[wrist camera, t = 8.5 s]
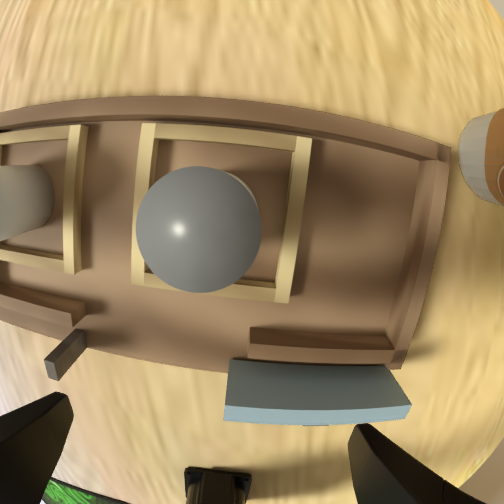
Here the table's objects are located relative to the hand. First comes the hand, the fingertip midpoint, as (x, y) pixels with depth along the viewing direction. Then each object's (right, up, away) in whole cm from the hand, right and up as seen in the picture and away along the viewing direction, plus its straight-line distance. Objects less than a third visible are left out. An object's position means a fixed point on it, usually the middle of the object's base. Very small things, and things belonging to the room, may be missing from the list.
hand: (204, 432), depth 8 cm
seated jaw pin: (-1, +7, +9) cm, 12 cm away
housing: (-4, +6, +11) cm, 13 cm away
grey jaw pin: (-13, +9, +9) cm, 18 cm away
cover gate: (+5, -3, +11) cm, 13 cm away
